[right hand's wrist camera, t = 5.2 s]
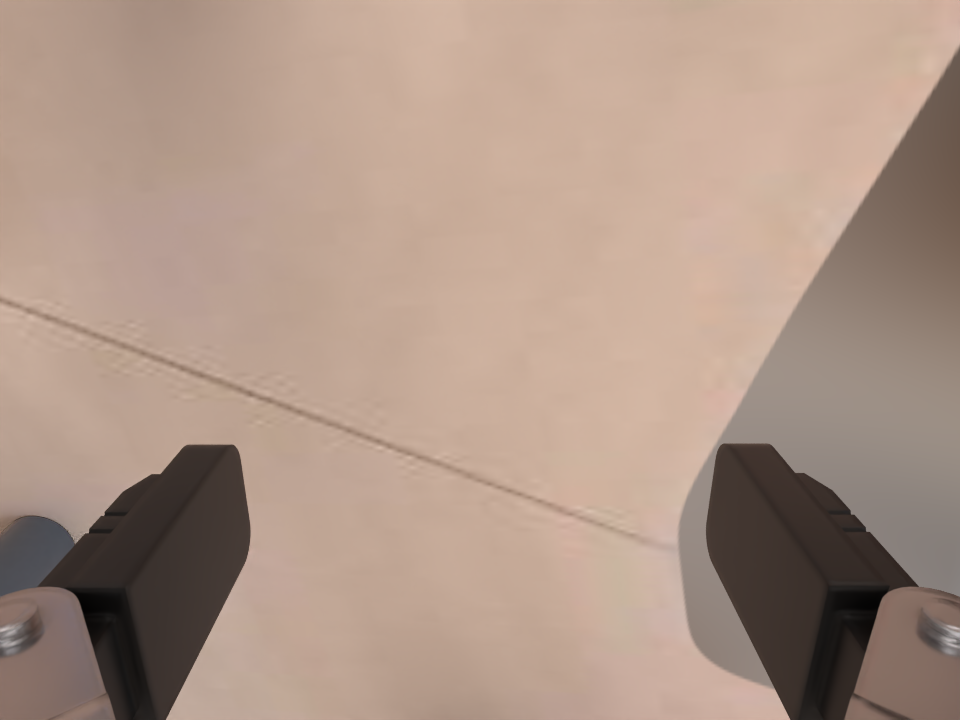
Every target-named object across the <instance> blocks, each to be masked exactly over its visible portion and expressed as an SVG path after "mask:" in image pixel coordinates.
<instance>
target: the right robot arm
mask: <svg viewBox="0 0 960 720" xmlns="http://www.w3.org/2000/svg"><path fill="white" fill-rule="evenodd" d="M706 539H707V547H708V552H709V556H710V559H711V561H712V564H713V566H714V568H715V570H716V572H717V573H718V576H719V578H720V580H721V582H722V584H723V586H724V588H725V590H726V592H727V594H728V596H729V598H730V600H731V602H732V604H733V606H734V608H735V610H736V612H737V614H738V616H739V618H740V620H741V622H742V624H743V626H744V628H745V630H746V632H747V634H748V636H749V638H750V640H751V642H752V644H753V646H754V648H755V650H756V652H757V654H758V656H759V658H760V660H761V662H762V664H763V666H764V668H765V670H766V672H767V674H768V676H769V678H770V680H771V682H772V684H773V686H774V688H775V690H776V692H777V694H778V696H779V698H780V700H781V702H782V704H783V706H784V708H785V710H786V712H787V714H788V716H789V718H790V720H960V597H958V596H956V595H953V594H950V593H947V592H944V591H940V590H935V589H931V588H924V587H919V586H918V585H917V584H916V583H915V582H914V581H913V580H912V579H911V577H910V576H909V575H908V574H907V573H906V572H905V571H904V570H903V568H902V567H901V566H900V565H899V564H898V563H897V562H896V561H895V560H894V558H893V557H892V556H891V555H890V554H889V553H888V552H887V551H886V550H885V548H884V547H883V546H882V545H881V544H880V543H879V542H878V541H877V540H876V538H875V537H874V536H873V535H872V534H871V533H870V532H866V527H865V526H864V525H863V524H862V523H861V522H860V521H859V519H858V518H857V517H856V516H855V515H851V511H850V509H849V508H848V507H847V506H846V505H845V504H844V503H843V502H842V501H841V499H840V498H839V497H838V496H837V495H836V494H835V493H834V492H833V491H832V490H831V489H829V488H828V487H826V486H824V485H823V484H821V483H819V482H818V481H816V480H814V479H813V478H811V477H810V476H808V475H806V474H805V473H795V472H794V471H793V470H792V469H791V467H790V466H789V465H788V464H787V463H786V462H785V460H784V459H783V458H782V457H781V456H780V454H779V453H778V452H777V451H776V450H775V448H774V447H773V446H772V445H770V444H722V445H721V446H720V447H719V449H718V451H717V455H716V460H715V467H714V474H713V481H712V488H711V495H710V502H709V509H708V516H707V523H706ZM249 545H250V520H249V513H248V507H247V500H246V493H245V486H244V479H243V472H242V465H241V459H240V455H239V452H238V449H237V448H236V447H235V446H234V445H186V446H184V447H183V448H182V450H181V451H180V452H179V453H178V454H177V455H176V457H175V458H174V459H173V460H172V461H171V462H170V464H169V465H168V466H167V467H166V468H165V470H164V471H163V472H162V473H161V474H151V475H150V476H148V477H147V478H145V479H143V480H142V481H140V482H138V483H137V484H135V485H133V486H132V487H130V488H129V489H127V490H125V491H124V492H122V494H121V495H120V496H119V497H118V498H117V499H116V500H115V501H114V502H113V504H112V505H111V506H110V507H109V508H108V509H107V510H106V511H105V515H104V516H101V517H100V518H99V519H98V520H97V521H96V522H95V523H94V524H93V526H92V527H91V528H90V529H89V534H84V536H83V537H82V538H81V539H80V540H79V541H78V542H77V543H76V544H75V545H74V547H73V548H72V549H71V550H70V551H69V552H68V553H67V554H66V555H65V556H64V558H63V559H62V560H61V561H60V562H59V563H58V564H57V565H56V566H55V568H54V569H53V570H52V571H51V572H50V573H49V574H48V575H47V576H46V577H45V579H44V580H43V581H42V582H41V583H40V584H39V585H38V586H37V587H36V588H29V589H24V590H20V591H16V592H13V593H10V594H7V595H4V596H1V597H0V720H166V718H167V716H168V714H169V712H170V710H171V708H172V706H173V704H174V702H175V700H176V698H177V696H178V694H179V692H180V690H181V688H182V686H183V685H184V683H185V681H186V679H187V677H188V675H189V673H190V671H191V669H192V667H193V665H194V663H195V661H196V659H197V657H198V655H199V653H200V651H201V649H202V647H203V645H204V643H205V641H206V639H207V637H208V635H209V633H210V631H211V629H212V627H213V625H214V623H215V621H216V619H217V617H218V615H219V613H220V611H221V609H222V607H223V605H224V603H225V601H226V599H227V598H228V596H229V594H230V592H231V590H232V588H233V586H234V584H235V582H236V580H237V578H238V576H239V574H240V572H241V570H242V568H243V566H244V564H245V561H246V559H247V555H248V551H249Z"/></svg>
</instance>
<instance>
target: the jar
mask: <svg viewBox="0 0 960 720" xmlns="http://www.w3.org/2000/svg"><path fill="white" fill-rule="evenodd" d="M73 547H74V542H73V539H72V538H71V536H70V535H69V533H68V532H67V531H66V530H65V529H64V528H63V527H62V526H60V525H59V524H57V523H56V522H54V521H52V520H49V519H47V518H43V517H38V516H27V517H22V518H19V519H17V520H15V521H13V522H12V523H11V524H10V525H9V526H8V527H7V528H5V529H4V530H3V531H2V532H1V533H0V597H1V596H4V595H7V594H10V593H13V592H16V591H20V590H24V589H29V588H36V587H37V586H38V585H39V584H40V583H41V582H42V581H43V580H44V579H45V577H46V576H47V575H48V574H49V573H50V572H51V571H52V570H53V569H54V568H55V566H56V565H57V564H58V563H59V562H60V561H61V560H62V559H63V558H64V556H65V555H66V554H67V553H68V552H69V551H70V550H71V549H72V548H73Z"/></svg>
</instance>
